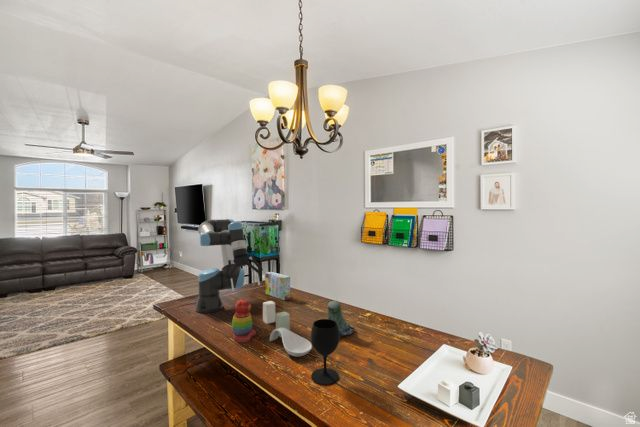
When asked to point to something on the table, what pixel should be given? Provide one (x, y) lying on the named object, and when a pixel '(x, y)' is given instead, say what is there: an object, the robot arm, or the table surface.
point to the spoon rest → (292, 342)
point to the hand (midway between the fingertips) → (246, 288)
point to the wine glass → (325, 349)
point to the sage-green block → (282, 321)
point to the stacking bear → (242, 322)
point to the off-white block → (268, 312)
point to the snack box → (277, 285)
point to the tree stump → (339, 319)
